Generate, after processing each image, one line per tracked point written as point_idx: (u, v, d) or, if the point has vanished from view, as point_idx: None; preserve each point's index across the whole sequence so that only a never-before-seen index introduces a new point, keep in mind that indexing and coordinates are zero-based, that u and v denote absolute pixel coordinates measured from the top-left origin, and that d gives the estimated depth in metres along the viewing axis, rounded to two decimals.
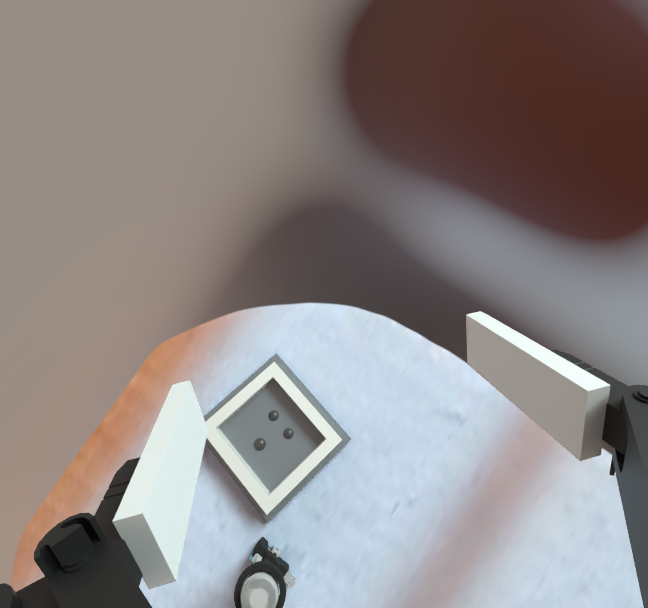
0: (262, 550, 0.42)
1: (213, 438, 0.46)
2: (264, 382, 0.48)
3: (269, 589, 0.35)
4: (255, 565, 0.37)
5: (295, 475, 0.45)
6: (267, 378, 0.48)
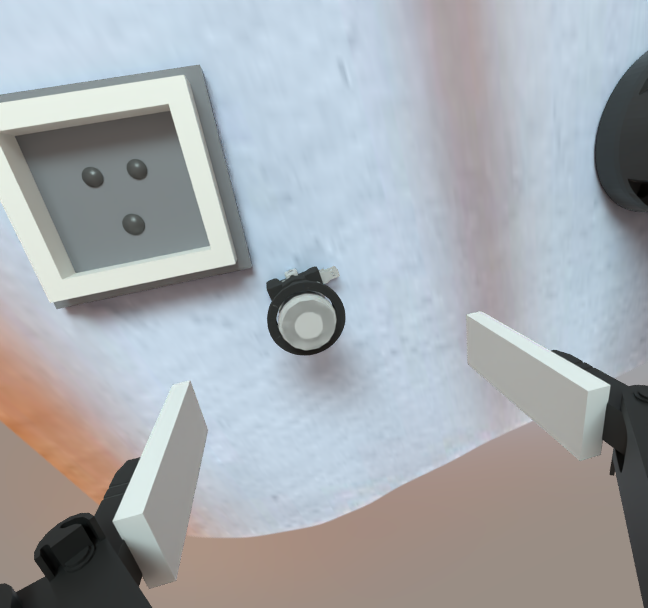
0: (276, 290, 0.29)
1: (79, 289, 0.26)
2: (1, 155, 0.23)
3: (306, 307, 0.22)
4: (270, 310, 0.23)
5: (202, 193, 0.25)
6: None
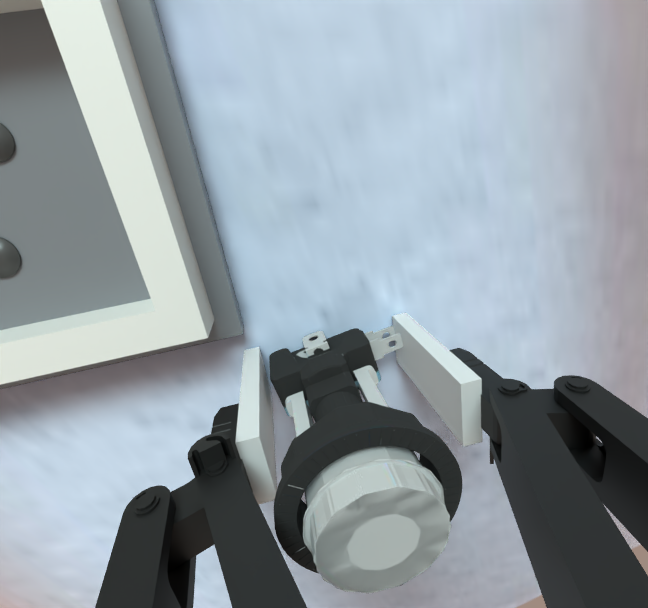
0: (289, 381, 0.15)
1: None
2: None
3: (382, 505, 0.08)
4: (281, 497, 0.09)
5: (129, 194, 0.11)
6: None
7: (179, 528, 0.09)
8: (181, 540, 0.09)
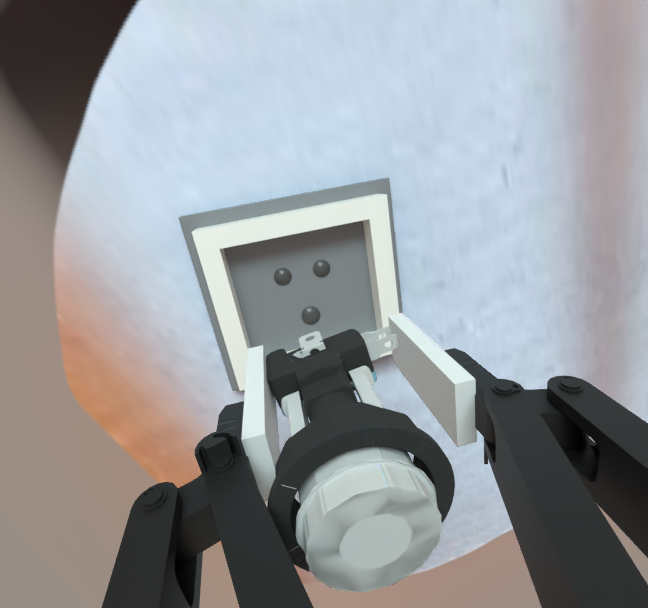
0: (285, 381, 0.15)
1: None
2: (222, 268, 0.25)
3: (374, 504, 0.08)
4: (274, 496, 0.09)
5: (385, 293, 0.28)
6: (217, 259, 0.25)
7: (186, 524, 0.09)
8: (188, 536, 0.10)
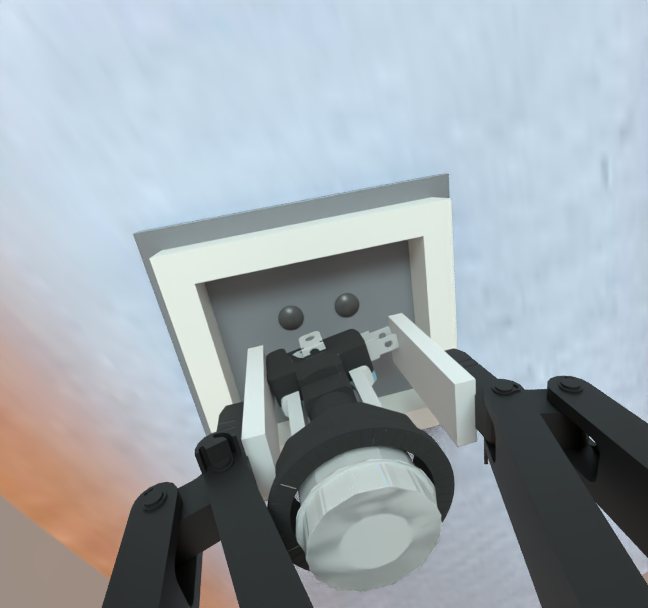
0: (285, 381, 0.15)
1: None
2: (199, 312, 0.16)
3: (374, 504, 0.08)
4: (275, 496, 0.09)
5: (440, 341, 0.19)
6: (192, 299, 0.16)
7: (186, 524, 0.09)
8: (188, 536, 0.10)
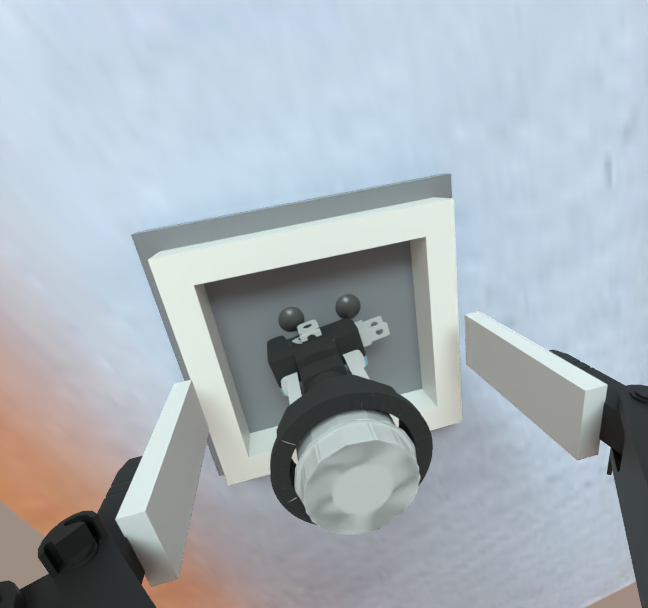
0: (284, 363, 0.17)
1: (268, 466, 0.19)
2: (198, 314, 0.16)
3: (361, 455, 0.10)
4: (276, 451, 0.10)
5: (442, 343, 0.19)
6: (191, 301, 0.16)
7: None
8: None
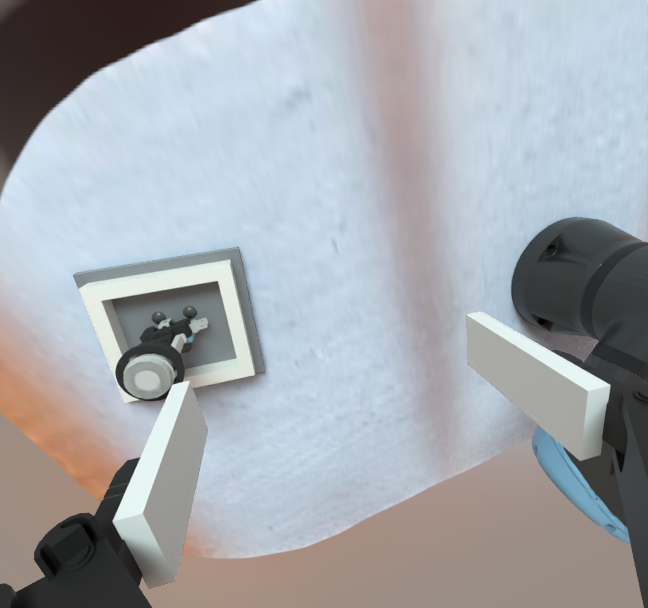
0: (147, 339, 0.35)
1: None
2: (104, 314, 0.34)
3: (144, 366, 0.28)
4: (117, 366, 0.28)
5: (235, 332, 0.37)
6: (100, 308, 0.33)
7: None
8: None
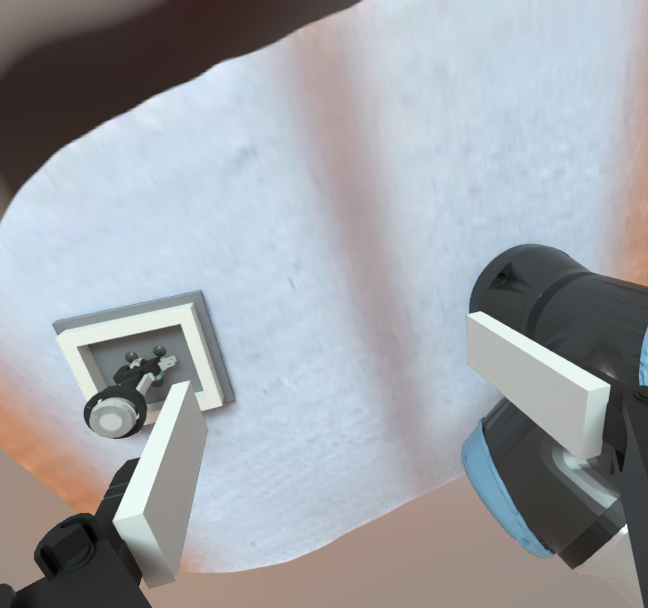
0: (119, 378, 0.38)
1: None
2: (79, 358, 0.38)
3: (106, 410, 0.31)
4: (85, 410, 0.32)
5: (201, 368, 0.40)
6: (75, 353, 0.37)
7: None
8: None
